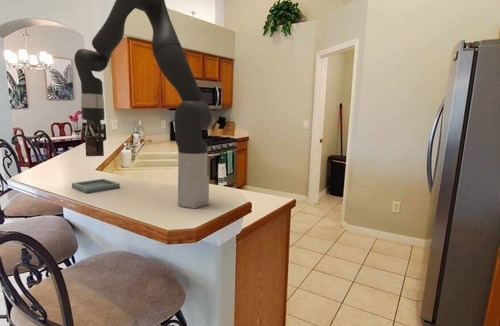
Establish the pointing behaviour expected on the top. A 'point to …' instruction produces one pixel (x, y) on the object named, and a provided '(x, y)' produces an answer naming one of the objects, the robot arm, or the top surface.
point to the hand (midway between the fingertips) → (94, 151)
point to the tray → (95, 185)
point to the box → (92, 147)
